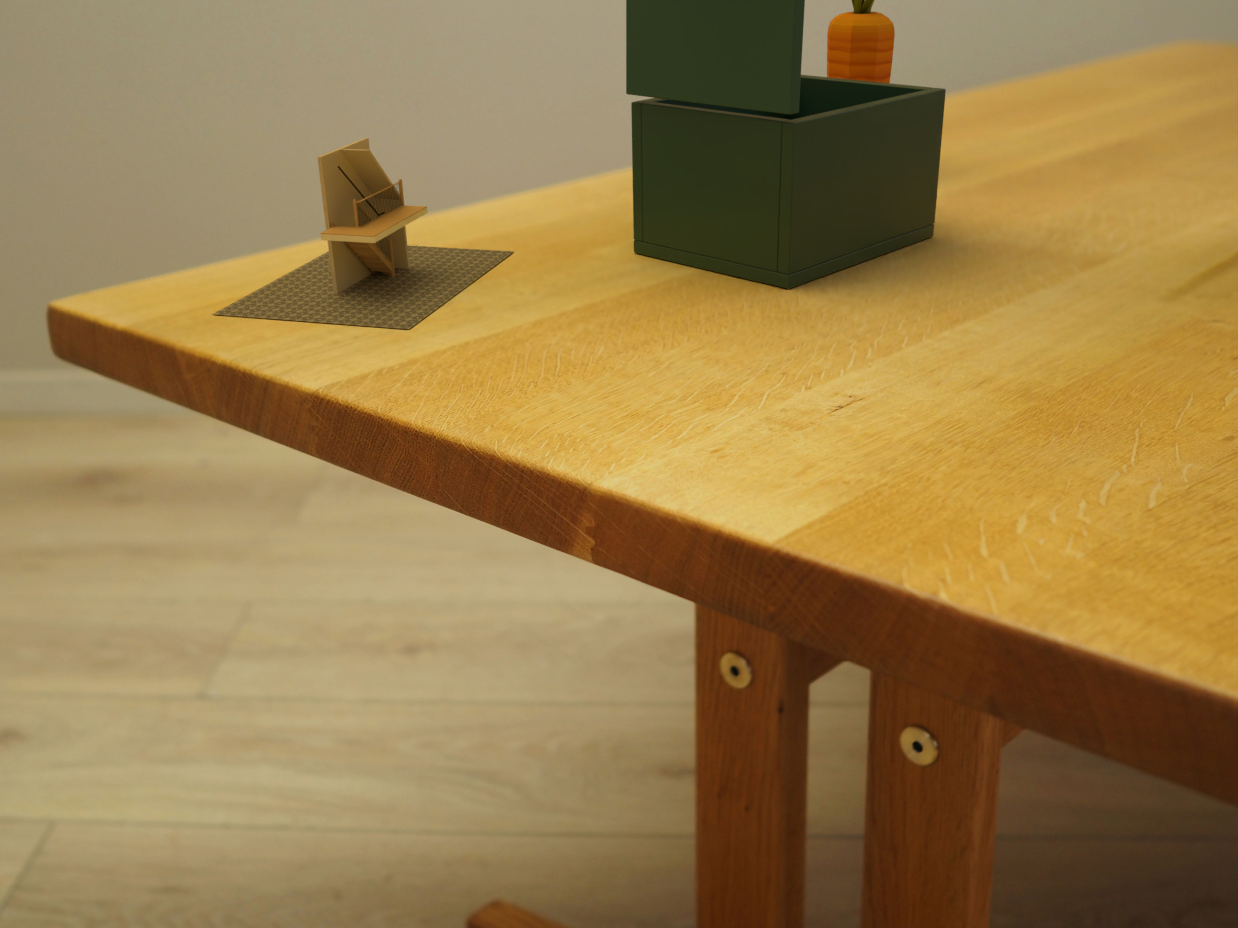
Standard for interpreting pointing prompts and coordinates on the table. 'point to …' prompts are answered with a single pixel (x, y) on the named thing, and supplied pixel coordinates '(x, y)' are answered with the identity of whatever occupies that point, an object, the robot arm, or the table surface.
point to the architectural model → (366, 256)
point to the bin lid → (716, 52)
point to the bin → (787, 179)
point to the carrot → (860, 44)
